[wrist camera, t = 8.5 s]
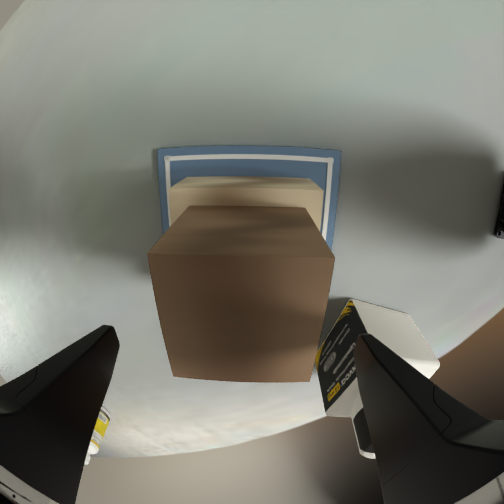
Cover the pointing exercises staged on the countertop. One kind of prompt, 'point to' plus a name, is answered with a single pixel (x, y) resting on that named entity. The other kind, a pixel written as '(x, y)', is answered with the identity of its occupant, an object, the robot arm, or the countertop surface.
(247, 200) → the maple slab
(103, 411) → the supplement bottle
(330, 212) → the blueprint board
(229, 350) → the walnut cube
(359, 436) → the medicine bottle
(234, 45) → the countertop surface
